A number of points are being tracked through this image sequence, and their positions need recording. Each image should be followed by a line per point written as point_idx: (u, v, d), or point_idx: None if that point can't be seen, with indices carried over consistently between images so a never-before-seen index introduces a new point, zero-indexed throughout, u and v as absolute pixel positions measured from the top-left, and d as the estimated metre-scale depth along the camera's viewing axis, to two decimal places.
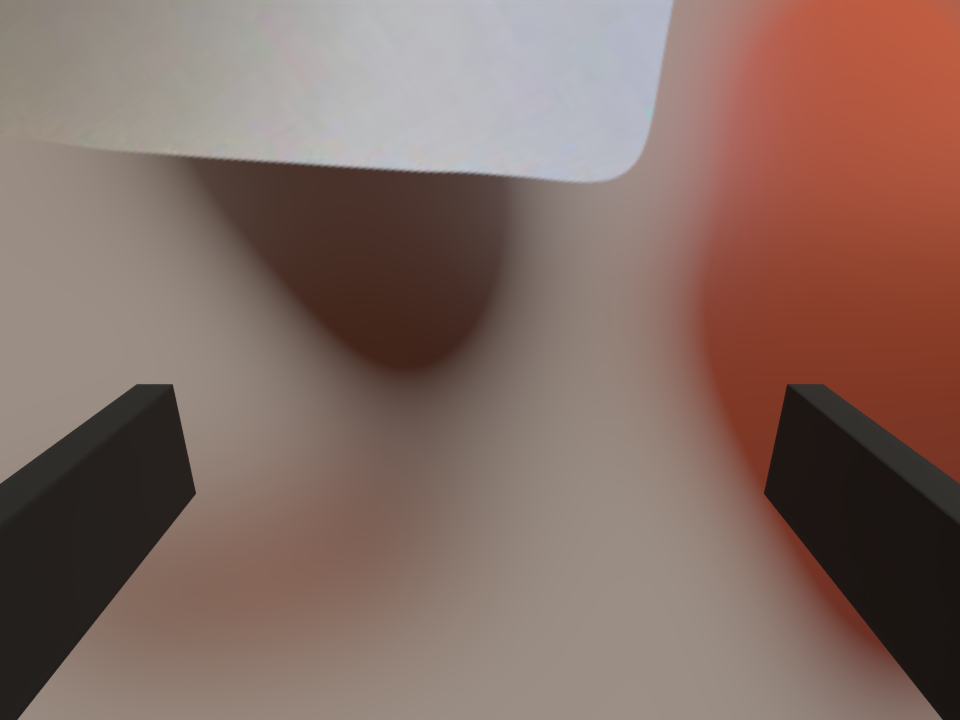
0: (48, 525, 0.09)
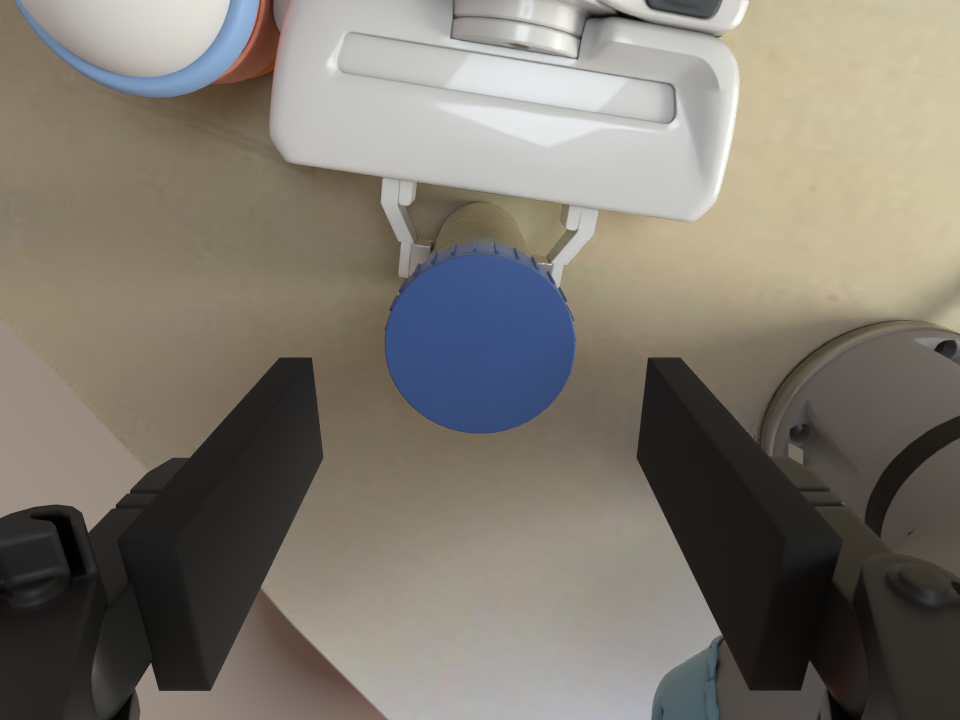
0: (253, 469, 0.10)
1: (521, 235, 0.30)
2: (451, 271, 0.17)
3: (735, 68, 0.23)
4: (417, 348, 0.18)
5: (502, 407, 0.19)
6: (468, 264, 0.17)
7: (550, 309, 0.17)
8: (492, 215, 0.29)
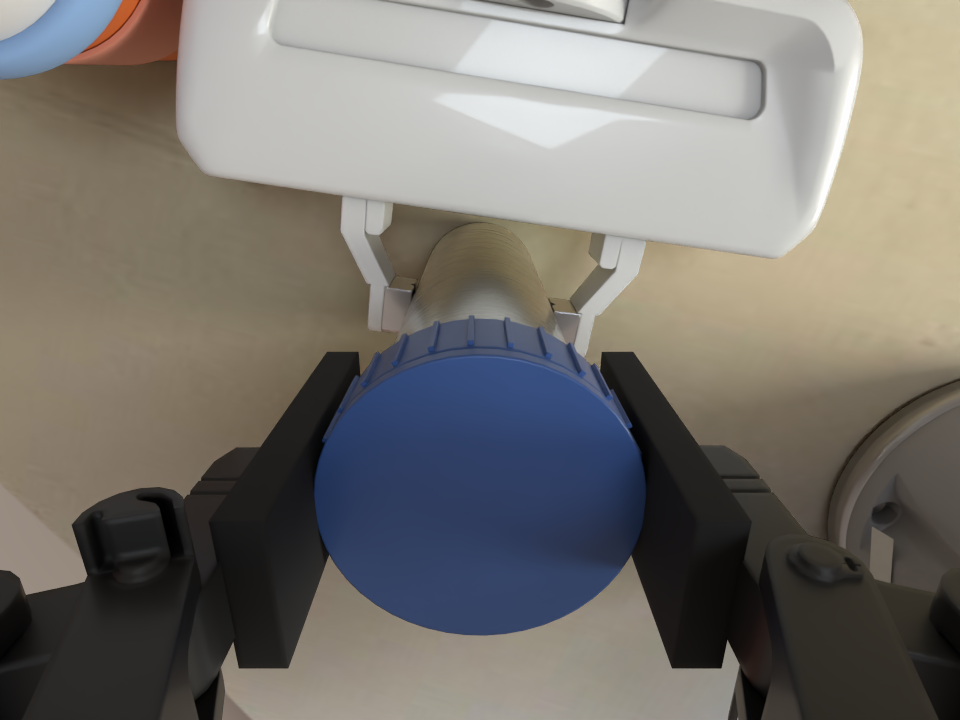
0: (317, 458, 0.10)
1: (535, 269, 0.23)
2: (428, 384, 0.09)
3: (859, 37, 0.16)
4: (370, 509, 0.10)
5: (518, 598, 0.11)
6: (458, 372, 0.09)
7: (605, 446, 0.10)
8: (496, 245, 0.21)
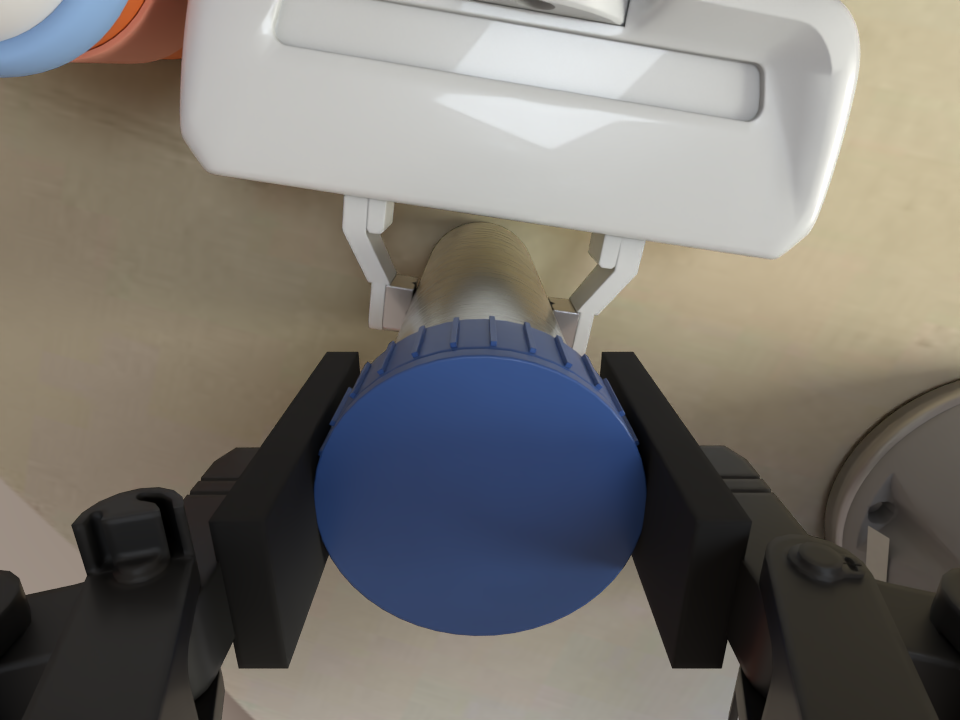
0: (317, 457, 0.10)
1: (535, 269, 0.23)
2: (370, 580, 0.11)
3: (856, 40, 0.16)
4: (511, 592, 0.11)
5: (578, 446, 0.10)
6: (349, 564, 0.11)
7: (366, 431, 0.10)
8: (497, 244, 0.21)
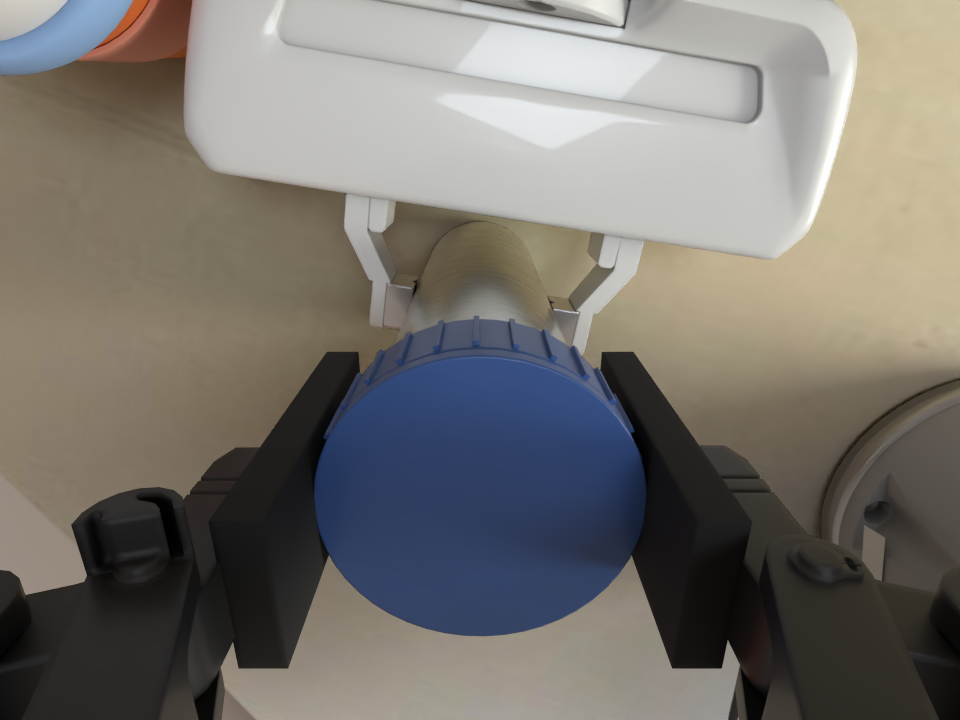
0: (317, 457, 0.10)
1: (534, 268, 0.23)
2: (595, 575, 0.11)
3: (854, 44, 0.16)
4: (572, 455, 0.10)
5: (376, 454, 0.10)
6: (579, 596, 0.11)
7: (433, 612, 0.11)
8: (497, 244, 0.21)
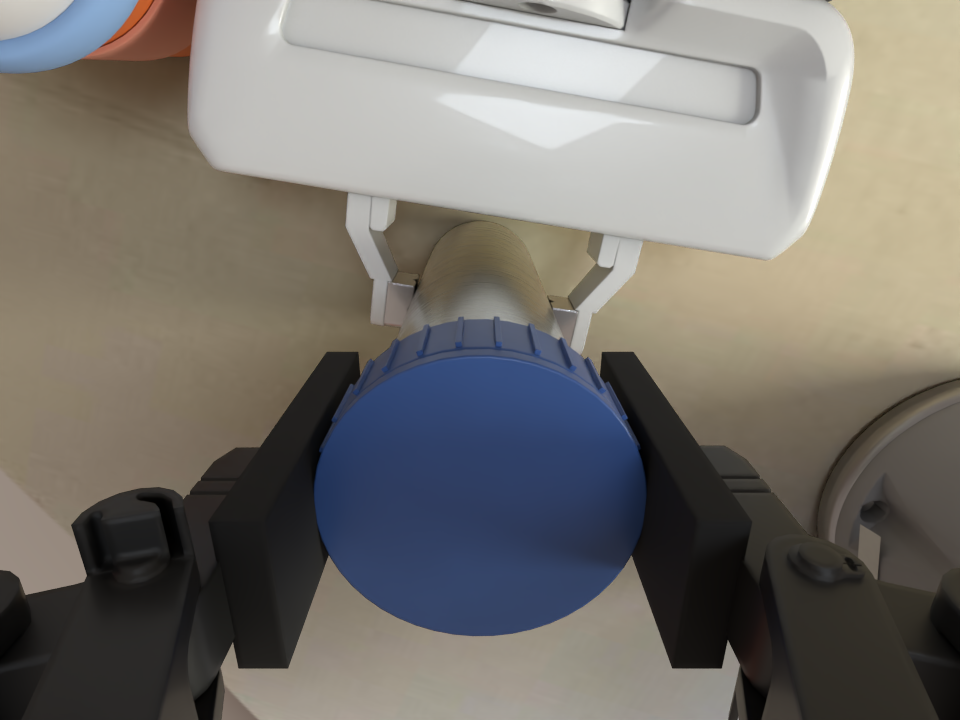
0: (317, 458, 0.10)
1: (534, 267, 0.23)
2: (523, 382, 0.09)
3: (851, 47, 0.16)
4: (387, 455, 0.10)
5: (451, 601, 0.11)
6: (556, 389, 0.09)
7: (619, 517, 0.10)
8: (497, 243, 0.22)
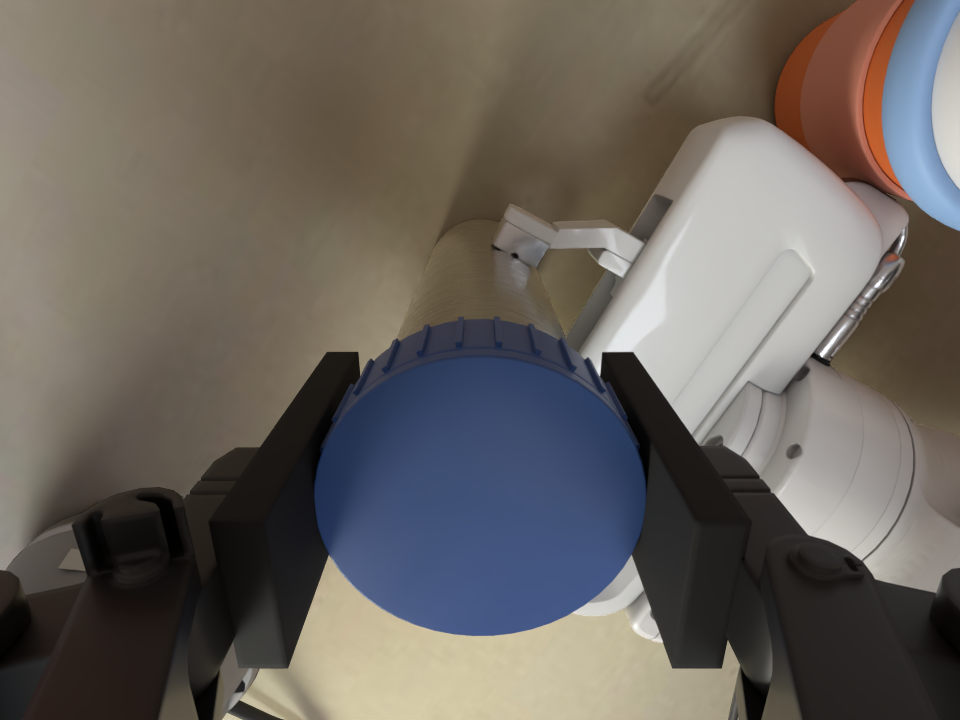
0: (317, 457, 0.10)
1: None
2: (523, 382, 0.09)
3: (594, 615, 0.24)
4: (387, 455, 0.10)
5: (451, 600, 0.11)
6: (556, 389, 0.09)
7: (619, 517, 0.10)
8: None
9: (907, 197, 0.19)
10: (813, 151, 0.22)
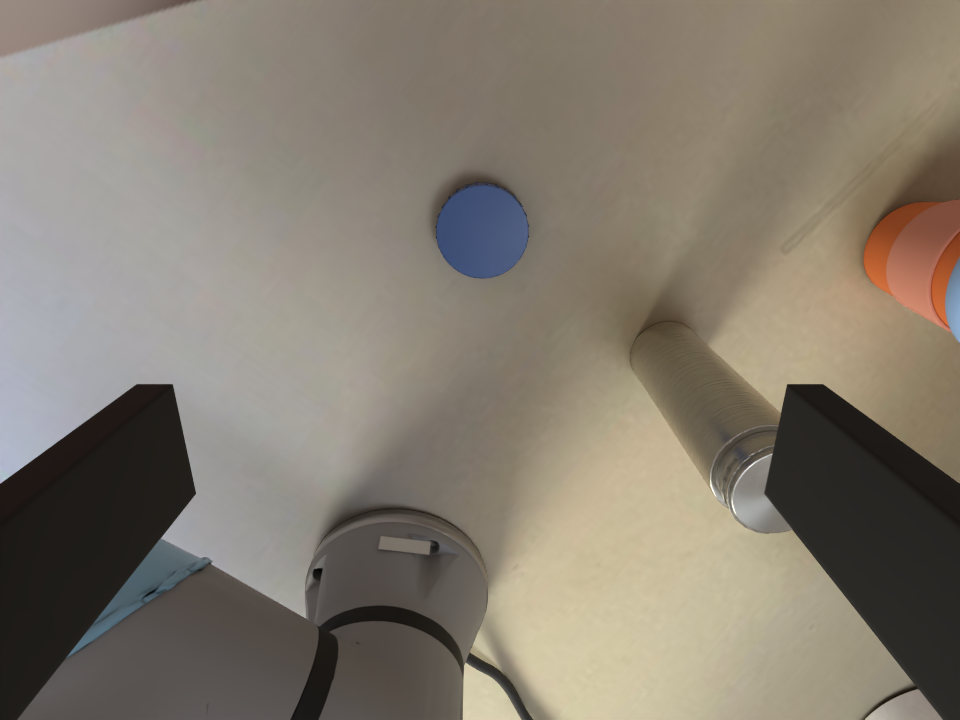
0: (48, 525, 0.09)
1: None
2: (493, 192, 0.36)
3: None
4: (457, 215, 0.37)
5: (474, 264, 0.38)
6: (502, 194, 0.36)
7: (521, 235, 0.37)
8: None
9: None
10: (893, 293, 0.37)
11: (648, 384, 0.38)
